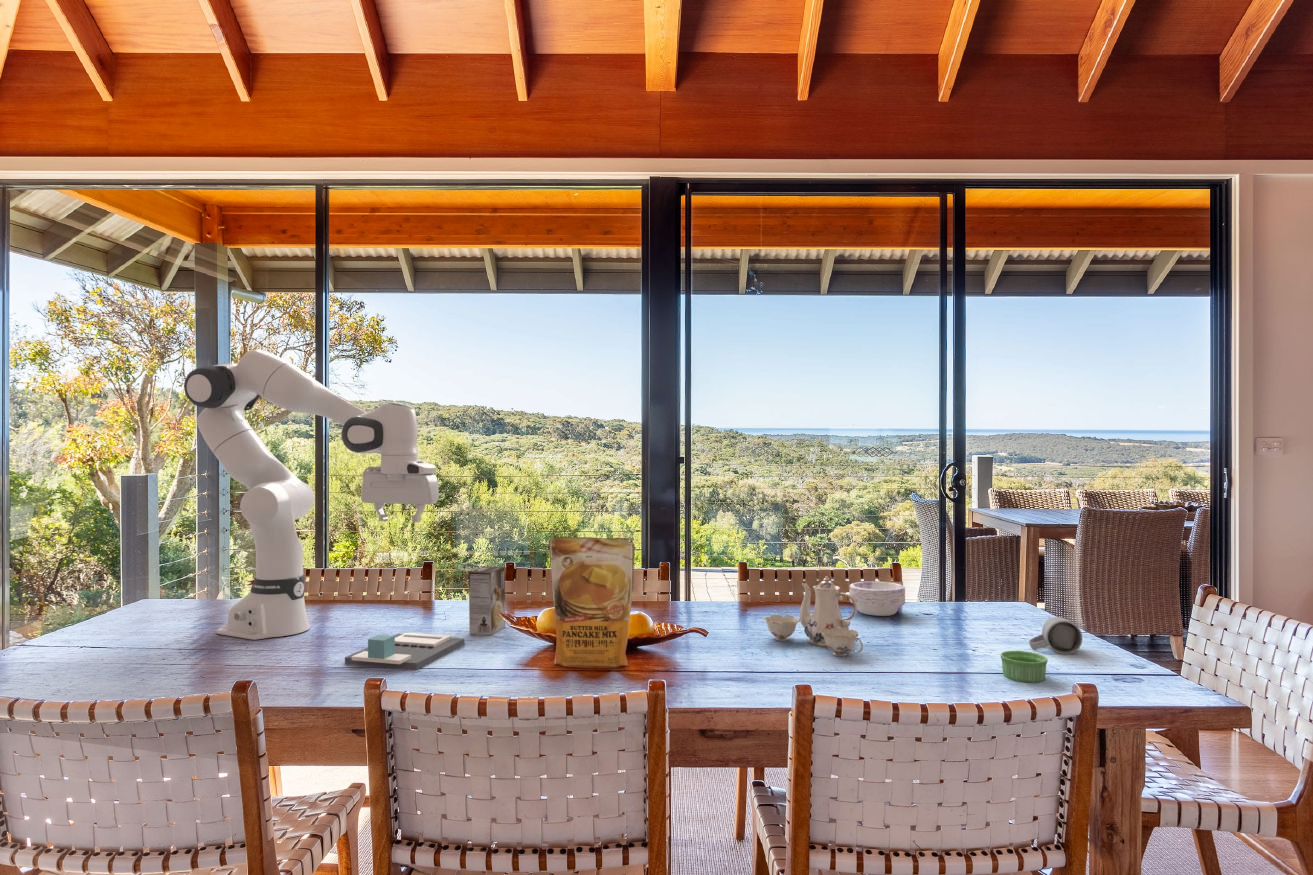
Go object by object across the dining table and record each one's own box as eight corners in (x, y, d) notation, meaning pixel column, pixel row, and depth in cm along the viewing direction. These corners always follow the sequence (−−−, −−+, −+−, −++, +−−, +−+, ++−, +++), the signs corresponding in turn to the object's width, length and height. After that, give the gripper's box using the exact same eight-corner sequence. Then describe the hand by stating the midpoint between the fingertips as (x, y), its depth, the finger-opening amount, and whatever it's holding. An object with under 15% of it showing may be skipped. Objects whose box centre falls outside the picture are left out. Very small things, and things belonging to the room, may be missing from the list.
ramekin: (1033, 670, 170) (1033, 650, 170) (1056, 683, 161) (1056, 662, 161) (992, 670, 170) (992, 650, 170) (1013, 684, 161) (1013, 662, 161)
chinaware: (753, 646, 195) (748, 580, 194) (791, 627, 207) (787, 565, 206) (853, 669, 176) (849, 597, 175) (889, 647, 188) (886, 579, 186)
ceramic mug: (1073, 646, 189) (1073, 613, 189) (1083, 655, 181) (1082, 621, 181) (1025, 644, 191) (1025, 612, 191) (1033, 653, 183) (1032, 620, 183)
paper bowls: (861, 604, 235) (861, 578, 234) (912, 611, 226) (912, 583, 226) (841, 614, 222) (841, 586, 222) (894, 621, 213) (894, 592, 213)
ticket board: (344, 663, 175) (344, 653, 175) (399, 639, 196) (399, 630, 196) (416, 670, 171) (416, 658, 171) (464, 644, 191) (464, 634, 191)
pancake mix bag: (552, 658, 179) (551, 535, 179) (635, 660, 178) (635, 536, 178) (545, 667, 173) (545, 539, 172) (632, 669, 171) (631, 540, 171)
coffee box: (483, 625, 210) (483, 565, 210) (506, 626, 209) (505, 566, 208) (468, 634, 201) (468, 571, 201) (492, 635, 200) (491, 572, 200)
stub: (351, 660, 173) (351, 638, 173) (363, 654, 177) (363, 633, 177) (399, 664, 170) (399, 641, 170) (411, 658, 174) (411, 636, 174)
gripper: (355, 466, 197) (355, 522, 197) (428, 467, 192) (428, 524, 192) (370, 465, 203) (371, 519, 203) (441, 466, 198) (442, 521, 198)
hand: (399, 521), depth 198 cm, fingers open, 8 cm apart
